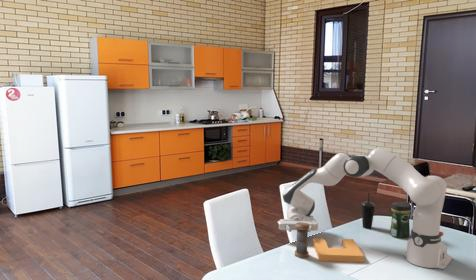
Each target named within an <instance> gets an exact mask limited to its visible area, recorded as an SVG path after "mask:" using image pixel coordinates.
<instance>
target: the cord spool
mask: <svg viewBox="0 0 476 280" xmlns="http://www.w3.org/2000/svg"><path fill="white" fill-rule="evenodd" d="M296 229H297V230H296V245H295V246H296V249H295V250H294V256H295V257H296V258H299V259H307V258H309V254H310V253H309V251H308V239H309V238H308V236H309V235H308V233H309V232H308V229H309V224H308V223H304V222H299V223H296Z"/></svg>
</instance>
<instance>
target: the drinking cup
mask: <svg viewBox="0 0 476 280" xmlns="http://www.w3.org/2000/svg"><path fill="white" fill-rule="evenodd" d="M360 204H361V219H362V220H361V221H362V222H361V223H362V228H363V229H366V230H372V228H373V222H374V213H375V208H376V204H375V203H373V202H371V201H370V192H367V201H364V202H361V203H360Z"/></svg>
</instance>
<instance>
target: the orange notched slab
mask: <svg viewBox="0 0 476 280" xmlns="http://www.w3.org/2000/svg"><path fill="white" fill-rule="evenodd" d="M312 244H313V247H314V250H315V253H316V256H317V258H318V261H319V262H339V263H341V262H342V263H343V262H344V263H345V262H346V263H348V262H349V263H350V262H351V263H364V262H365V255H364V254H363V252H362V250H361V249H360V247H359V246H358V244H357V243H356V241H355V239H353V238H342V239H341V246H342V248H341V247H329V246H328V243H327V241H326V239H325V238H321V237H319V238H318V237H312Z"/></svg>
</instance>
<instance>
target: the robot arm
mask: <svg viewBox="0 0 476 280" xmlns="http://www.w3.org/2000/svg"><path fill="white" fill-rule="evenodd" d="M375 172H379V173H380V174H381V175H383V176H384V177H386V178H387V179H389V180H390V181H392V182H393V183H395V185H397V186H398V187H399V188H400V189H402V190H403V191H404V193H406V194H407V195H408V196H409V198H410V200H411V201H412V203H414V204H415V208H414V211H413V214H412V215H413V216H412V228H411V230H410V238H408V240H407V245H406V251H404V252H403V256H404V257H405V258H406V260H407V262H409V263H410V264H413V265H415V266H416V267H417V266H418V267H422V268H427V269H433V268H434V269H443V270H445V269H446V268H447V267H448V266H449V264H450V262H451V261H452V260H453V256H452V255H450V254H449V253H448V245H446V244H445V243H444V242H443V241H442V237H443V236H444V232H443V231H440V229H441V216H442V211H443V208H444V203H445V198H446V192H447V188H448V187H447V183H446V181H445V180H444V178H442V177H441V176H437V175H428V176H424V175H422V174H421V173H420V172H419V171H418V170H416V169H415V167H414V165H413V164H411V163H409V162H408V161H406V160H405V159H403V158H402V157H400V156H398V155H396V154H395V153H393V152H390V151H389V150H387V149H385V148H382V147H376V148H374V149H372V151H371V152H369V154H356V155H350V156H349V155H348V154H346V153H345V152H339V153H336V154H335V155H334V156H332V157H331V158H330V159H329V160H328V161H327V162H326V163H325V164H324V165H323V166H322V167H320V168H312V169H311V170H309V171H308V172H306V173H305V174H304V175H303V176H302V177H300V178H299V179H298V180H296V181H295V182H294V183H293V184H291V185H289V186H288V187H287V188H285V189H284V190H283V193H282V199H283V202H284V203H285V204H288V205H289V206H290V207H289V208H288V210H287V211H286V212H287V213H286V218H281V219H279V220H277V224H278V230H281V231H288V233H289V232H292V231H297V229H296V223H299V222H304V223H308V224H309V229H308V233H311V231H318V230H319V222H318V221H317V219H315V218H314V216H313V215H312V214H313V212H314V210H315V207H316V204H315V199H313V198H312V197H311V196H309V195H308V194H306V193H305V192H303V191H302V189H303V188H304V187H306V186H307V185H308V184H312V183H314V184H319V185H322V186H324V187H325V186H326V187H331V186H335V185H337V184H338V183H339V182H340V181H341V180H342V179H343V178H344V177H345V175H348V176H349V177H351V178H361V177H362V178H364V177H366V176H370V175H372V174H374V173H375Z"/></svg>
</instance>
